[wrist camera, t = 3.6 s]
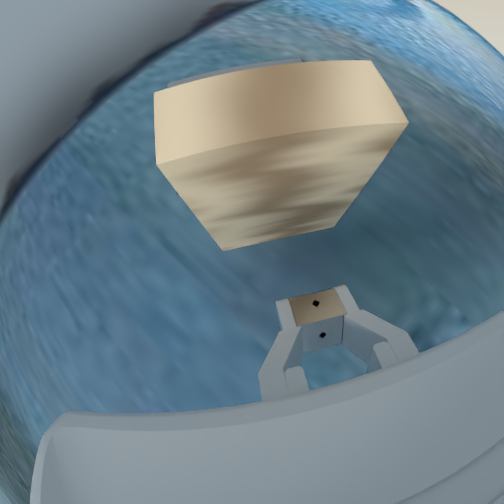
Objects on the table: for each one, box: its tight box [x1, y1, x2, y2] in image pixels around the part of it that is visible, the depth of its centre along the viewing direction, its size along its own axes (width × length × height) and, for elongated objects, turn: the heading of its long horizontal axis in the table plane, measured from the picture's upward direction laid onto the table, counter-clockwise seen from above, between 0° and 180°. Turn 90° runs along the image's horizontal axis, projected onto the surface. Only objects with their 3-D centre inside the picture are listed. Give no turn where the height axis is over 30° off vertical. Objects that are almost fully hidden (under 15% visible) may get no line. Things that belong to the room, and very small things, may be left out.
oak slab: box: [154, 60, 409, 251], centre depth 16 cm, size 9×4×14 cm, turn 102°
